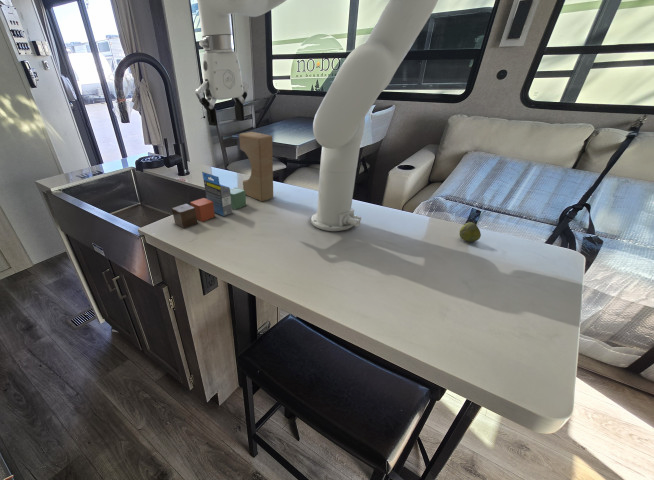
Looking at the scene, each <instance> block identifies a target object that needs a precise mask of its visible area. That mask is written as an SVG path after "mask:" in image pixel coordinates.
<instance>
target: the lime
mask: <svg viewBox="0 0 654 480" xmlns="http://www.w3.org/2000/svg"><path fill="white" fill-rule="evenodd" d="M458 235H459V237H460V239H461V240H463V241H466V242H468V243H474V242H477V241H479V240H480V239H481V237H482V233H481V230H480V228H479V227H478V225H477V224H476V223H475V222H472V221H469V222H466V223H464V224H463V225H462V226H461V227H460V229H459V233H458Z"/></svg>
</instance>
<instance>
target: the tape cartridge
mask: <svg viewBox="0 0 654 480" xmlns="http://www.w3.org/2000/svg"><path fill="white" fill-rule="evenodd" d="M201 174H202V179H203V185H204V191H205V197H206V199H208V200H210V201H213V206H214V213H215V214H218V215H220V216H222V217H226V216H229V215H231V214H233V208H232V206H231V196H230V189H231V188H230V187H229V186H226V185H223V184H220V178H219V176H217V175H213V174H212V173H211V174H210V173H208V172H205V171H201ZM210 178H211V179H210Z"/></svg>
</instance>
